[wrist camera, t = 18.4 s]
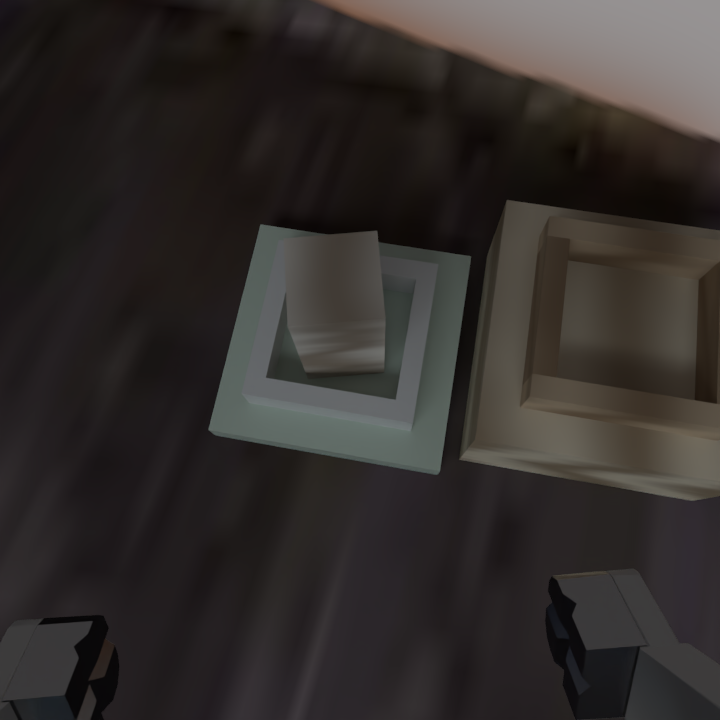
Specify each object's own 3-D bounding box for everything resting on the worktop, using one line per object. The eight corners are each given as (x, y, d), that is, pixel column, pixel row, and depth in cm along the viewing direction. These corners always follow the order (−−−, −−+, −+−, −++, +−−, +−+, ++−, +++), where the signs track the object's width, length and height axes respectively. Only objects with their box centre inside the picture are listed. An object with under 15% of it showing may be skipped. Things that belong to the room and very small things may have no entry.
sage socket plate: (215, 435, 35) (198, 422, 31) (265, 236, 38) (253, 206, 35) (437, 475, 34) (443, 465, 30) (467, 268, 37) (476, 239, 34)
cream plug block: (308, 379, 34) (287, 326, 26) (304, 308, 35) (283, 238, 28) (384, 372, 34) (385, 318, 26) (377, 302, 35) (377, 230, 27)
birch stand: (459, 459, 34) (482, 430, 26) (487, 255, 37) (515, 176, 30) (693, 500, 33) (787, 483, 25) (699, 287, 36) (785, 215, 29)
